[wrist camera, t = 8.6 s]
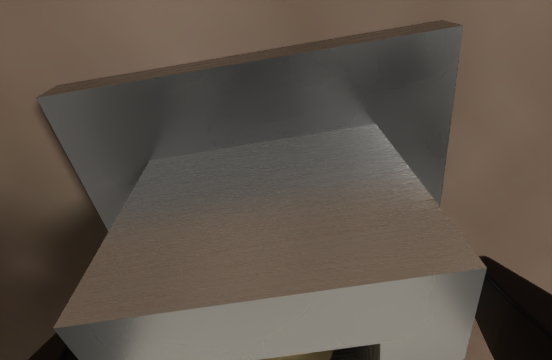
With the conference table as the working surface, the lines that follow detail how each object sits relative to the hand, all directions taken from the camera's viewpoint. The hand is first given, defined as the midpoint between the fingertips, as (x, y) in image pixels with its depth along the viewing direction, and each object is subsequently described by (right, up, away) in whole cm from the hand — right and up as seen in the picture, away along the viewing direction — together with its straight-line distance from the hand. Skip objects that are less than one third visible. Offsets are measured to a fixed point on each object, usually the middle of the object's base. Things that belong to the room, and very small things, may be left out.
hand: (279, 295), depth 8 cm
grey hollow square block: (0, +1, +2) cm, 3 cm away
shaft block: (0, +2, +3) cm, 4 cm away
